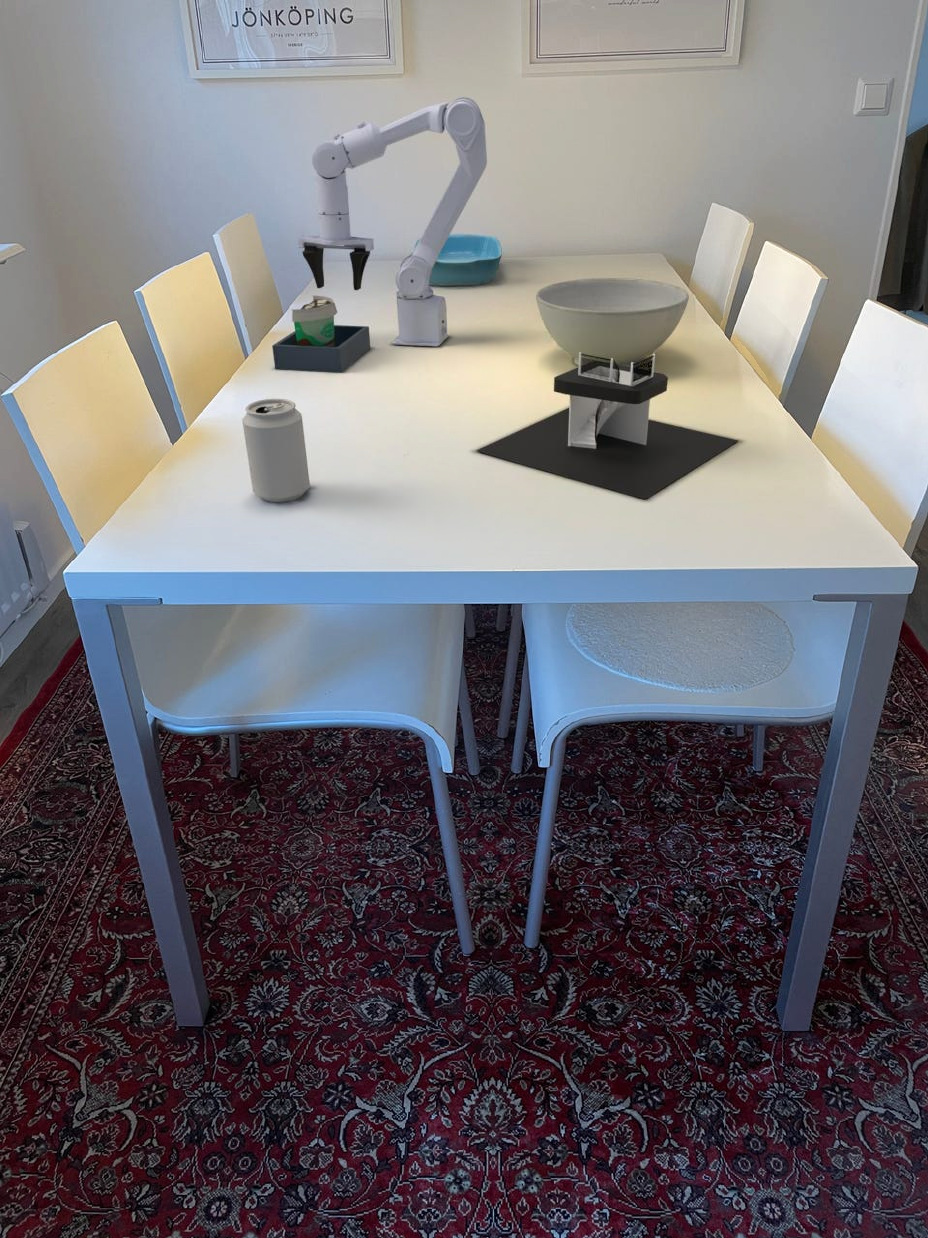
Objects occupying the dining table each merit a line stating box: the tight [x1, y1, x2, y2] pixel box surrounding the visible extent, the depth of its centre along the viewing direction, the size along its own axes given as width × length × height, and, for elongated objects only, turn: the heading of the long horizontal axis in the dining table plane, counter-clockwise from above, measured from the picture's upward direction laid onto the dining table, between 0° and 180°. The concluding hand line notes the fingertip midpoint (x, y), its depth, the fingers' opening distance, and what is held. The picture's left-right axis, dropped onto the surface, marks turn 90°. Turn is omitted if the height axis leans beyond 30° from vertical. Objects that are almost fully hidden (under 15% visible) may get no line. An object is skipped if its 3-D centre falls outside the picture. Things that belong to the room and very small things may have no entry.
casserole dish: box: [412, 233, 503, 287], centre depth 240 cm, size 37×22×7 cm, turn 0°
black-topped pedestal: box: [475, 352, 739, 500], centre depth 132 cm, size 28×26×13 cm
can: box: [241, 398, 311, 503], centre depth 121 cm, size 8×8×12 cm
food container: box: [291, 295, 338, 347], centre depth 175 cm, size 12×6×10 cm, turn 168°
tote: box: [271, 324, 372, 373], centre depth 177 cm, size 13×16×4 cm
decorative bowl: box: [535, 277, 690, 368], centre depth 169 cm, size 27×27×12 cm
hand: (339, 288), depth 182 cm, fingers open, 7 cm apart
